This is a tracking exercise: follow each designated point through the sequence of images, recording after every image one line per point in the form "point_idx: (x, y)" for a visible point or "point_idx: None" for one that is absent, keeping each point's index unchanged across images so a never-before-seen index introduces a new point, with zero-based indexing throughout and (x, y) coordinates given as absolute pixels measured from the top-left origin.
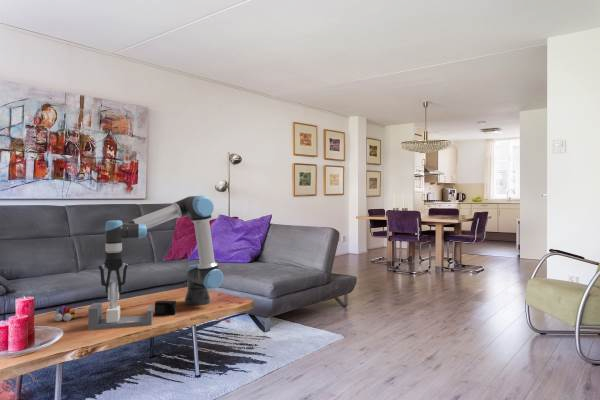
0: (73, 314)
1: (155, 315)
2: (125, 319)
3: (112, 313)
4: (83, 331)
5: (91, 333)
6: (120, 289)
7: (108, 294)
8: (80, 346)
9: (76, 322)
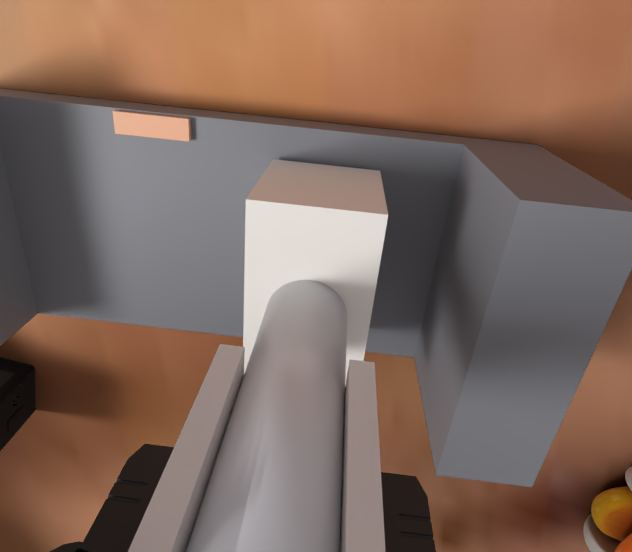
0: (611, 523)
1: (27, 365)
2: (215, 251)
3: (316, 192)
4: (585, 119)
5: (523, 2)
6: (121, 496)
7: (370, 433)
8: None
9: (590, 412)
